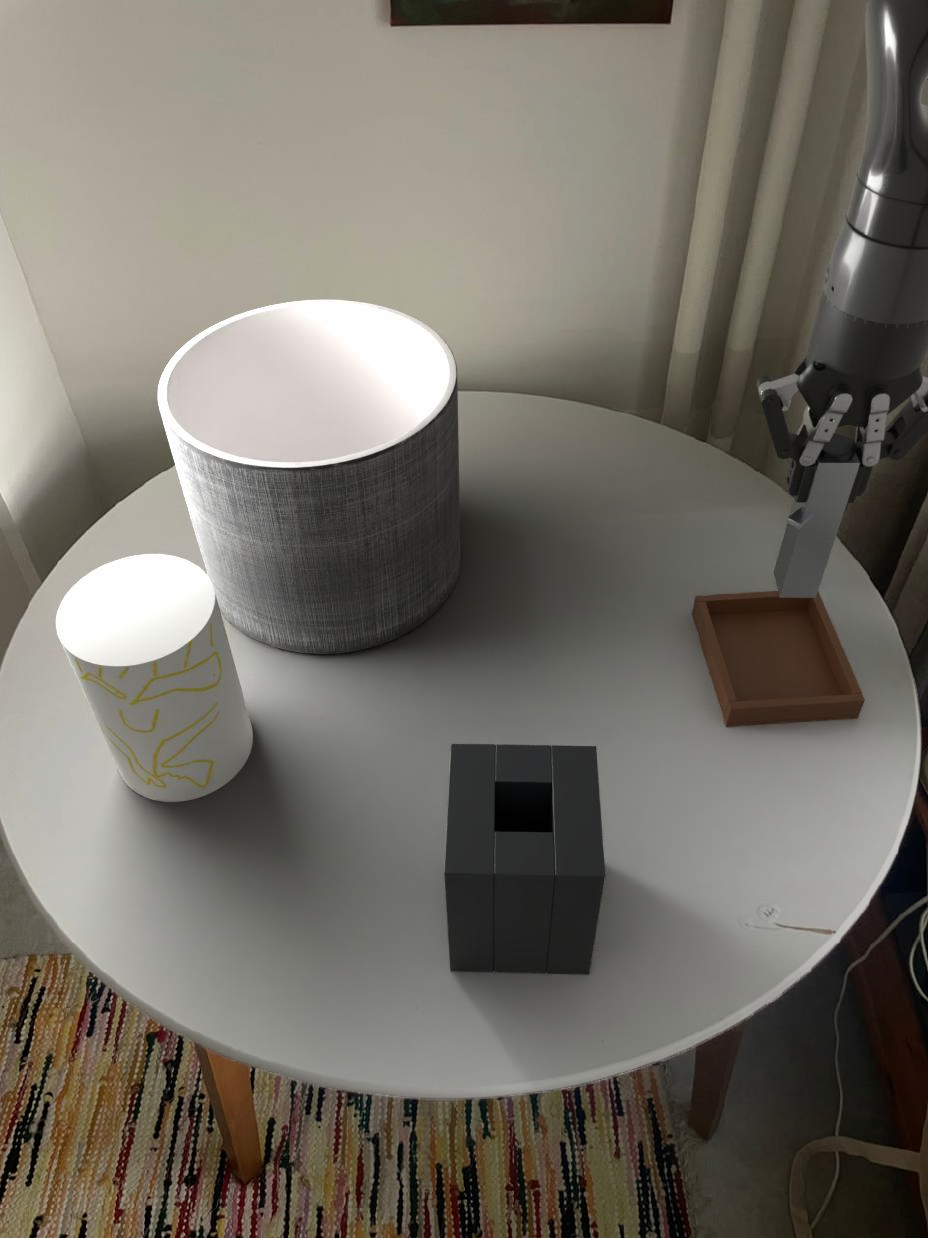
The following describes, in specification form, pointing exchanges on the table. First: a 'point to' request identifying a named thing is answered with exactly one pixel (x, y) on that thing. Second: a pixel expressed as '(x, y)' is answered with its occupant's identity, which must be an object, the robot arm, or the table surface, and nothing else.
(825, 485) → the grey square bar
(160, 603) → the white patterned cylinder
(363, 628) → the planter
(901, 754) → the table surface
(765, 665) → the tray
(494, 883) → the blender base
